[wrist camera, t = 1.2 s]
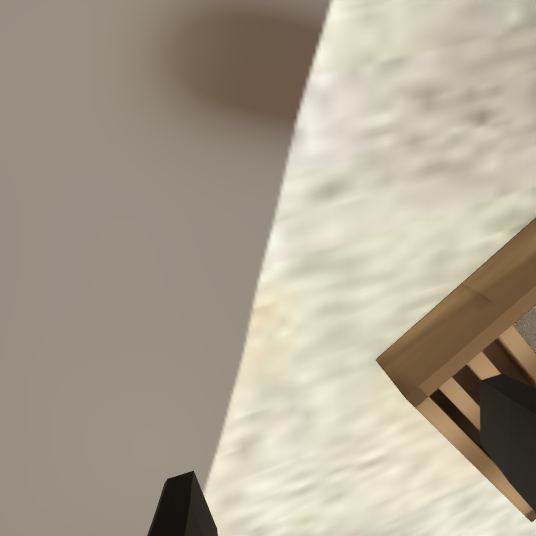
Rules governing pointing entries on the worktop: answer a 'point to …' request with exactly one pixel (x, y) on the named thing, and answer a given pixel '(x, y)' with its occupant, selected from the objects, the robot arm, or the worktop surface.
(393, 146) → the worktop surface
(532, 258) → the wooden slatted frame
